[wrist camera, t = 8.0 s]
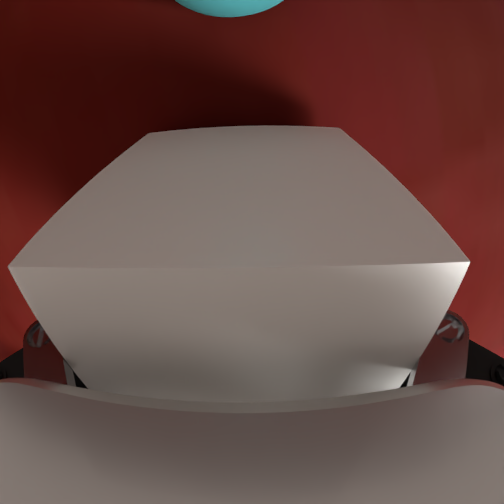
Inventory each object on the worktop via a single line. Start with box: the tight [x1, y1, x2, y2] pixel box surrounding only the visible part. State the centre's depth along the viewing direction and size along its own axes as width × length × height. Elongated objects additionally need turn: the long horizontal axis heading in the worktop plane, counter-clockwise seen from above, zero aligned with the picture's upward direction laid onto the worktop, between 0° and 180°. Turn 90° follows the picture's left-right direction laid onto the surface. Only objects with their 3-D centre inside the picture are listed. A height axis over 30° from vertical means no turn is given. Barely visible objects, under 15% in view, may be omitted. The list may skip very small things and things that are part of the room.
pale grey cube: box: [8, 126, 470, 402], centre depth 10 cm, size 8×8×9 cm
